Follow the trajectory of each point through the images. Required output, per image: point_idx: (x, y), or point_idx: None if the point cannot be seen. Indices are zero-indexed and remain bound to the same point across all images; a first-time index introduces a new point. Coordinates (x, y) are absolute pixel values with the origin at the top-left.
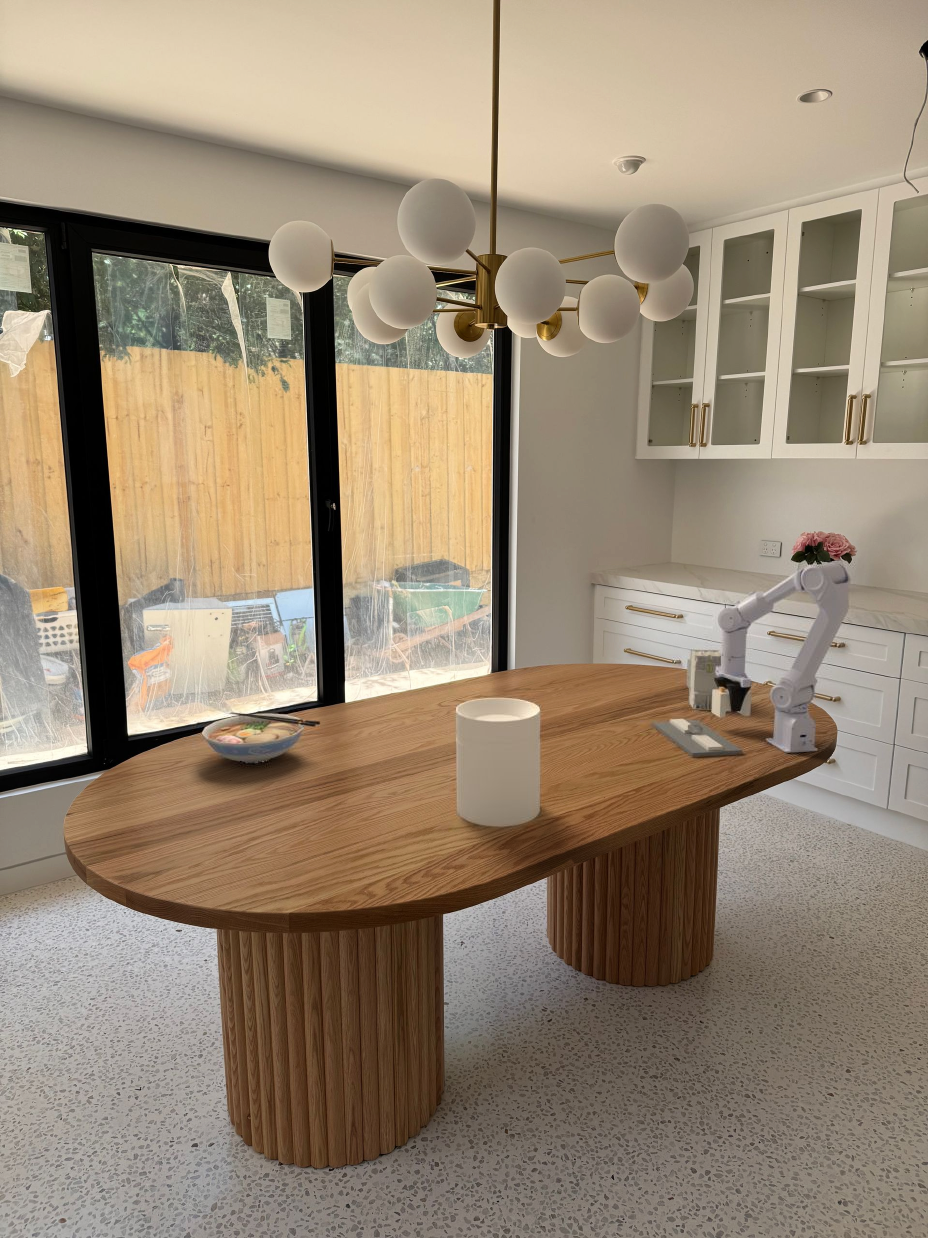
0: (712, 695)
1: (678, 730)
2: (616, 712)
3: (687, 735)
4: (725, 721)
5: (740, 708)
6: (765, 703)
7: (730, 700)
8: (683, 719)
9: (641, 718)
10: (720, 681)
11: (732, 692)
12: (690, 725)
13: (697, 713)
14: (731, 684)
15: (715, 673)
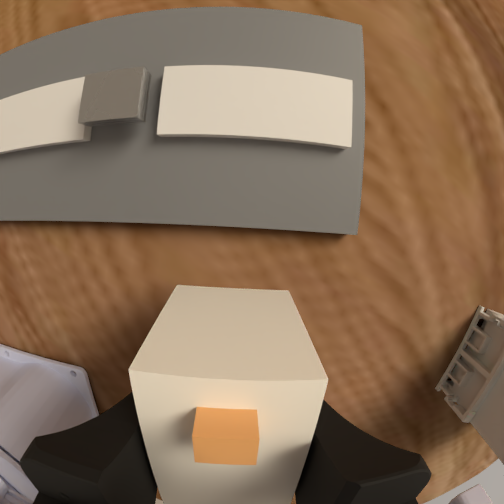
0: (310, 347)
1: (215, 61)
2: (495, 44)
3: None
4: (336, 360)
5: None
6: None
7: None
8: (339, 142)
9: (447, 61)
10: (334, 493)
11: (66, 432)
12: (126, 74)
13: (450, 300)
14: (69, 491)
15: (479, 484)
